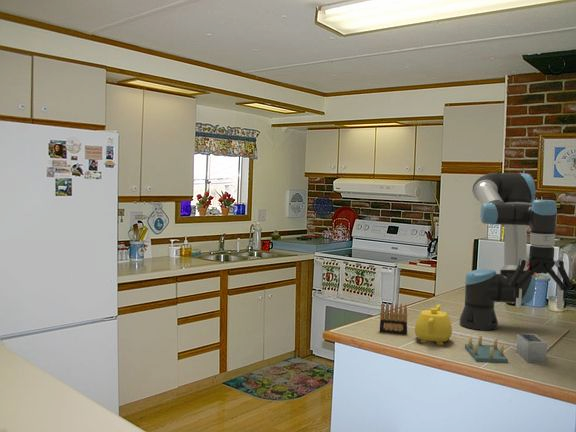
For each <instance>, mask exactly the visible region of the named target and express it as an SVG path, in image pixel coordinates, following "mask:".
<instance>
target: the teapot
mask: <svg viewBox="0 0 576 432" xmlns="http://www.w3.org/2000/svg"><path fill="white" fill-rule="evenodd" d="M440 307H441V304H439V303H437V304H436V305H435V307H430V308H429V309H424V310H421V312H420V314H419V315H418V318H417V320H416V323H415V326H414V334H415V336H416V337H417V338H418V339H420V341H419V342H420V343H421V344H426V343H427V342H428V341H430V342H431V341H432V342H436V345H437V346H443V345H444V343H443V342H448V341H449V340H450V338H451V336H452V334H453V330H452V329H453V328H452V322H451V320H450V318H449V317H450V316H449V315H448V313H447V312H445V311H441V310H440Z"/></svg>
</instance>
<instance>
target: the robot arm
mask: <svg viewBox="0 0 576 432" xmlns="http://www.w3.org/2000/svg"><path fill="white" fill-rule="evenodd" d="M472 194H473V197H474V198H475V199H476V200H477V201H478V202H479V203H480V205H481V206H480V221H481V223H483V224H484V225H485V224H487V225H503V226H504V228H503V229H504V230H503V231H504V235H503V236H504V237H503V239H504V240H503V241H504V242H503V243H504V245H503V247H504V249H503V257H504V258H503V261H504V262H503V266H502V267H501V268H500V269H499V273H497V272H496V270H495V269H487V268H486V269H485V268H484V269H482V268H481V269H474V270H470V271H468V272H467V273H466V275H465V282H464V284H465V289H464V290H465V291H464V292H465V293H464V305H463V309H462V312H461V313H460V317H459V325H460V326H461V325H462V326H461V327H463V326H464V327H463V328H466V327H467V328H466V329H470V328H472V329H471V330H475V329H480V330H479V331H492V330H491V329H495V330H496V329H498V328H499V321H498V318H497V314H496V310H495V303H507V304H515V307H516V308H518V309H522V304H530V303H531V302H532V301H533V298H534V296H535V292H536V284H537V282H536V280H537V279H536V276H535V275H534V274H535V273H536V274H545V275H546V274H548V275H549V276H550V277H551V279H552V280H553V281H554V282H555V283H556V284H557V286H558V287H559V288H557V292H556V308H557V309H558V310H563V305H564V304H563V301H564V300H566V298H567V297H566V296H567V291H568V290H569V289H572V288H573V284H572V282H571V280H570V277H569V276H568V272H566V269H565V265H564V261H563V260H560V259H556V260H554V258H555V248H554V246H555V244H556V225H557V213H558V209H557V208H558V207H557V202H556V200H553V199H536V183H535V181H534V178H533V176H532V175H531V174H530V173H522V172H491V173H486V174H484V175H481V176H480V177H479V178H477V180H475V182H474V183H473V186H472ZM528 226H530V236H529V237H530V238H529V244H530V246H529V253H527V251H528V249H527V242H528V241H527V240H528V239H527V238H528V235H527V232H528V231H527V230H528V229H527V228H528ZM528 254H529V255H528ZM528 256H529V258H527V257H528ZM527 259H528V260H527ZM528 266H529V267H528ZM553 267H557V270H558V272H559V275H560V276H561V279H560V277H559V276H558V275H557V273H556V272H555V271H554V269H553Z"/></svg>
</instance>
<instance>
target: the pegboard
mask: <svg viewBox="0 0 576 432" xmlns="http://www.w3.org/2000/svg"><path fill="white" fill-rule="evenodd" d="M477 339H478V340H477V341H478V343H473V337H468V344H467V343H465V344H464V348H465V350H466V352H468V353H469V355H470V356H471V357H472V359H473V360H474V361H475V362H477V363H478V362H479V363H483V362H484V363H503V364H504V363H506V364H509V359H508V358H507V357H506V355H505V354H504V351H505V349H504V348H505V345H504V344H499V349H498V338H493V344H492V345H491V344H483V335H481V334H480V335H478V338H477Z"/></svg>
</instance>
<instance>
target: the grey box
mask: <svg viewBox="0 0 576 432" xmlns="http://www.w3.org/2000/svg"><path fill="white" fill-rule="evenodd" d="M547 348H548V343H547V342H546V341H545V340H544V339H543V338H541V337H540V336H538V335H537V334H536V333H527V332H526V333H522V332H517V333H516V351H515V352H516V354H517V355H519V357H521V358H522V359H523V360H524V361H525V362H526V363H530V364H547V354H548V351H547V350H548V349H547Z"/></svg>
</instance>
